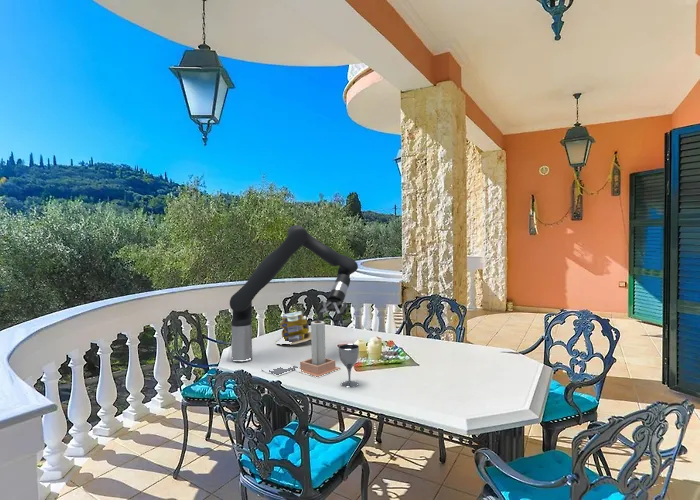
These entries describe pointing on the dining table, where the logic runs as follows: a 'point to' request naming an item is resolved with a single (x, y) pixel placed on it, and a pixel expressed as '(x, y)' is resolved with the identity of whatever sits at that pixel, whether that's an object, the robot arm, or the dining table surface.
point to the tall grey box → (318, 342)
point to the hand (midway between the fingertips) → (327, 321)
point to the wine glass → (349, 360)
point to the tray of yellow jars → (295, 328)
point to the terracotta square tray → (318, 367)
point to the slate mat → (282, 370)
